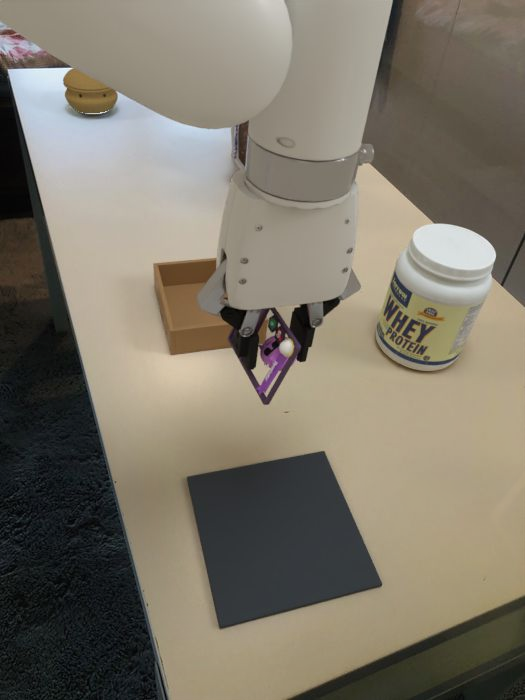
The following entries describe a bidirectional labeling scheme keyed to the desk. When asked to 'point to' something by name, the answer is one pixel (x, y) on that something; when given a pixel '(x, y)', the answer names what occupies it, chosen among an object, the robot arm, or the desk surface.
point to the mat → (278, 538)
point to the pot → (88, 93)
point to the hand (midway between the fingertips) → (272, 353)
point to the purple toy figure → (272, 353)
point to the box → (190, 307)
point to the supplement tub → (435, 296)
